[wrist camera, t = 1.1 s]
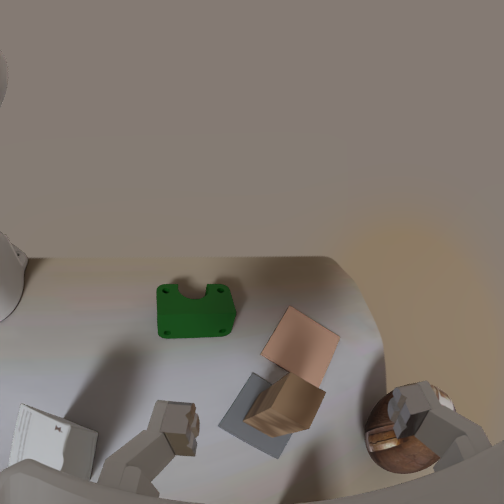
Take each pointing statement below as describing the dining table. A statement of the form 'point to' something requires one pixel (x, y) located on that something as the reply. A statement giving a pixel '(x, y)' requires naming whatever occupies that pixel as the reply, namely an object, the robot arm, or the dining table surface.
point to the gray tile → (246, 432)
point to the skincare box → (53, 442)
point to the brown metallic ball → (398, 440)
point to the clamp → (194, 312)
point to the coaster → (301, 346)
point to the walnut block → (285, 407)
